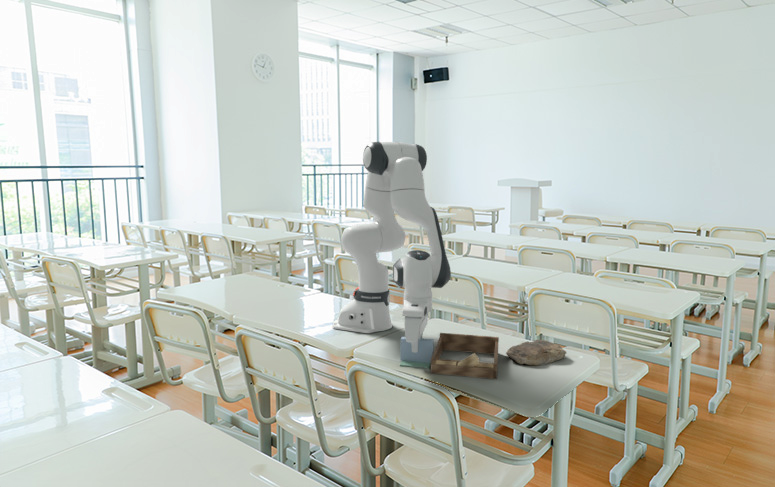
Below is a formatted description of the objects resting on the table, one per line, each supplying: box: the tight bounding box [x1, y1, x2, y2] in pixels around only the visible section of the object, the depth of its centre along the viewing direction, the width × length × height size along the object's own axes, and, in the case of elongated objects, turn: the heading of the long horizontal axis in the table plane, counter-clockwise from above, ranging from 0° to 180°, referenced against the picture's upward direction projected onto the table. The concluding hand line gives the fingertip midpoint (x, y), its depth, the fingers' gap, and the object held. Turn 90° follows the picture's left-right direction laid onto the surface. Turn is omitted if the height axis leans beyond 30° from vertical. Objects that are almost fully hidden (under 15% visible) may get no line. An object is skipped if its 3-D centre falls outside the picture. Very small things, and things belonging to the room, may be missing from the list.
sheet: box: [399, 336, 435, 363], centre depth 168 cm, size 10×2×7 cm, turn 78°
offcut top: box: [457, 352, 480, 367], centre depth 161 cm, size 6×3×2 cm
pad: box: [399, 360, 431, 369], centre depth 169 cm, size 9×9×1 cm
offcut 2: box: [474, 362, 494, 369], centre depth 161 cm, size 6×3×2 cm, turn 78°
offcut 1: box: [435, 360, 457, 366], centre depth 163 cm, size 6×3×2 cm, turn 78°
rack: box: [430, 332, 500, 380], centre depth 168 cm, size 19×22×6 cm
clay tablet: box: [505, 339, 567, 366], centre depth 174 cm, size 14×5×20 cm
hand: (416, 347), depth 168 cm, fingers open, 6 cm apart
